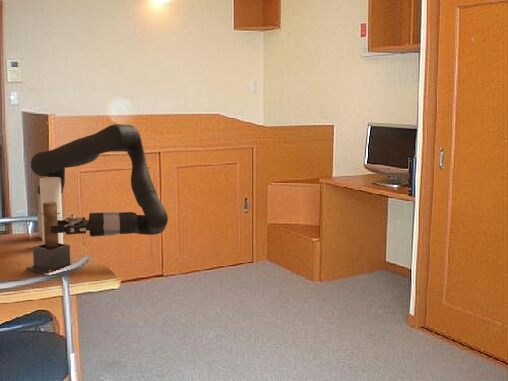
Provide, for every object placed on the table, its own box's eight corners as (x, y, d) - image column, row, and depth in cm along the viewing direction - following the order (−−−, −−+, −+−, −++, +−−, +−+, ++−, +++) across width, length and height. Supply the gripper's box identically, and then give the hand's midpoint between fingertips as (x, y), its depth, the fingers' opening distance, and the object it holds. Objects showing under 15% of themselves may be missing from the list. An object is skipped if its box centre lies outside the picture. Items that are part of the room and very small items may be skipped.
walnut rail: (43, 266, 192) (40, 203, 189) (53, 263, 195) (50, 201, 192) (51, 268, 190) (49, 204, 187) (62, 265, 193) (59, 202, 190)
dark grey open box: (26, 270, 191) (25, 247, 190) (54, 262, 200) (53, 240, 199) (50, 276, 185) (49, 251, 184) (77, 267, 194) (77, 244, 193)
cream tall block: (38, 247, 220) (35, 178, 216) (53, 243, 226) (50, 176, 222) (52, 250, 216) (49, 180, 213) (67, 245, 223) (65, 177, 219)
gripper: (103, 208, 201) (51, 211, 197) (105, 216, 188) (49, 219, 183) (103, 231, 202) (52, 233, 198) (106, 240, 189) (50, 243, 184)
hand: (51, 226), depth 190 cm, fingers open, 8 cm apart
